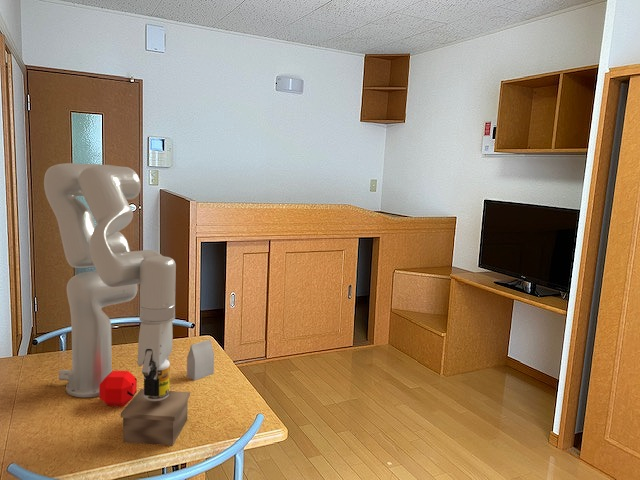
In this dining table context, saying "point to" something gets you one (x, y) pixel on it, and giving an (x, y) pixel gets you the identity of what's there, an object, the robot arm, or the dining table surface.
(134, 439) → the walnut box
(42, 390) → the dining table surface
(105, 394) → the ball
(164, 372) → the supplement bottle
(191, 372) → the white carton
